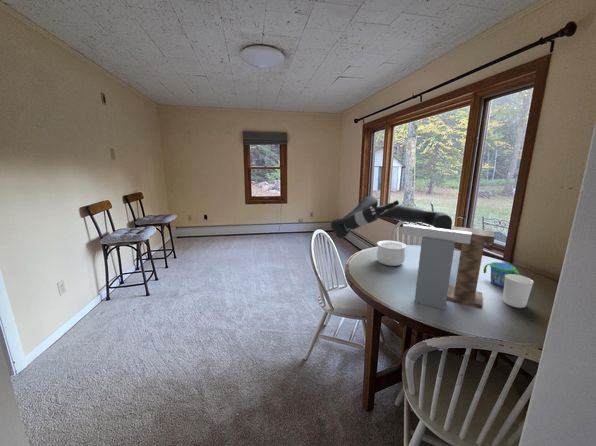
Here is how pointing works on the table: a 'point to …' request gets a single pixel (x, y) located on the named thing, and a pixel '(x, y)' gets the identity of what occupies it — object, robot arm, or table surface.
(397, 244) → the pot
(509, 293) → the candle holder
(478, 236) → the walnut pedestal
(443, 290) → the slate plinth
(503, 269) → the snack cup
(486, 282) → the table surface
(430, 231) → the aluminium bar
